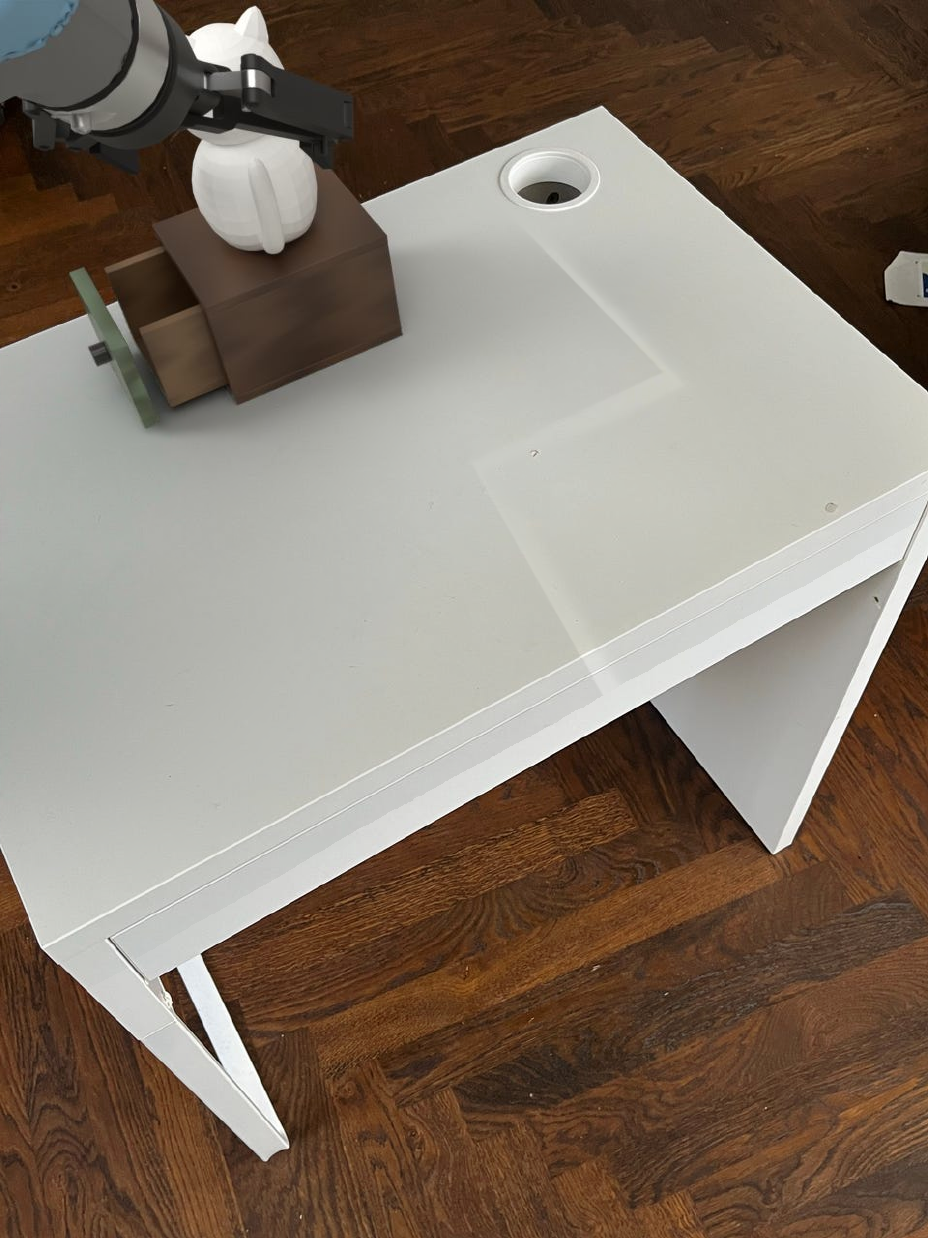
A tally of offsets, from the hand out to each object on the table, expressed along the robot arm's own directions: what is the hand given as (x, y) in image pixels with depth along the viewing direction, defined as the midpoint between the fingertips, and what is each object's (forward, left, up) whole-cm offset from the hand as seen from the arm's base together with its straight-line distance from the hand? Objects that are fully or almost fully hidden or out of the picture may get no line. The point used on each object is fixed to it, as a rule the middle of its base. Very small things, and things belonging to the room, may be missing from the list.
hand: (229, 150), depth 78 cm
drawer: (-7, -2, -17) cm, 18 cm away
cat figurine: (0, +3, -9) cm, 9 cm away
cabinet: (0, +3, -18) cm, 18 cm away
